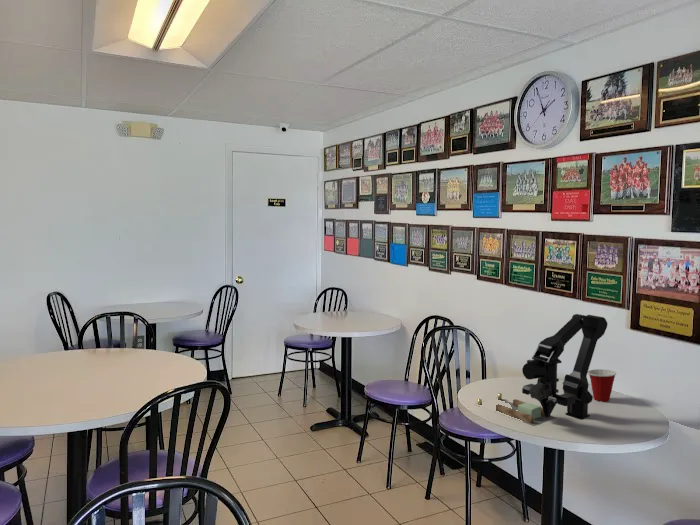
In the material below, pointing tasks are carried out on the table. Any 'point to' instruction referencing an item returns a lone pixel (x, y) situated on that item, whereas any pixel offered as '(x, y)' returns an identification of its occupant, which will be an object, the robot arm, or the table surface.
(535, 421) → the charcoal runway
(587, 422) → the table surface
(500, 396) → the brass pegs
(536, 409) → the sage block
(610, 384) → the plastic cup
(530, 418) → the walnut channel
